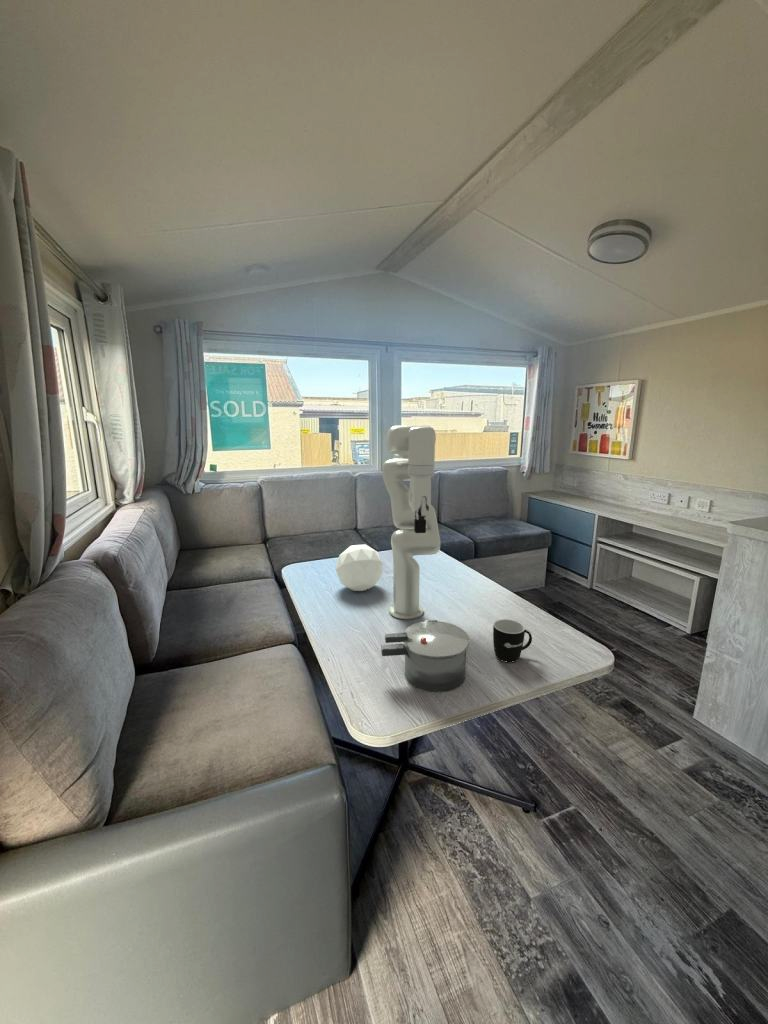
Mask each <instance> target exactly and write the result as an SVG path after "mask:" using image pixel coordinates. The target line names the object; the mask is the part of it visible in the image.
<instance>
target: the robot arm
mask: <svg viewBox="0 0 768 1024" xmlns="http://www.w3.org/2000/svg"><path fill="white" fill-rule="evenodd" d="M436 437H437V436H436V431H435V428H433V427H431V426H430V425H392V427H390V428H389V429H388V431H387V433H386V448H387V451H388V452H389V453H390V454H394V455H395V456H396V457H397V458H392V459H391V458H390V459H388V460H386V461H384V463H383V465H382V469H381V470H382V478H383V483H384V485H385V488H386V490H387V493H388V495H389V497H390V505H391V512H392V513H391V515H392V522H393V525H394V526H395V527H396V528H397V530H395V531H393V533H392V534H391V537H390V544H391V545H390V546H391V551H392V559H393V560H392V561H393V564H392V566H393V570H392V571H393V577H392V578H393V579H392V580H393V583H392V584H393V591H392V593H393V594H392V595H393V596H392V597H393V601H392V602H393V604H392V605H390V606H389V609H388V612H389V613H388V614H390V615H391V616H392V617H393V618H397V619H400V620H412V619H413V620H414V619H417V618H420V617H421V616H422V615H424V608H423V606H421V605H420V583H421V582H420V580H421V578H420V571H421V570H420V565H419V563H418V561H417V560H416V559H415V558H414V556H432V555H437V554H438V553H439V552H440V550H441V538H440V537H441V535H440V532H439V525H438V519H437V513H436V509H435V508H434V506H433V505H432V482H431V481H432V480H431V479H432V477H435V457H436V455H435V453H436V439H437V438H436ZM407 481H408V482H409V487H408V486H407V485H406V484H404V482H407Z"/></svg>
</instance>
